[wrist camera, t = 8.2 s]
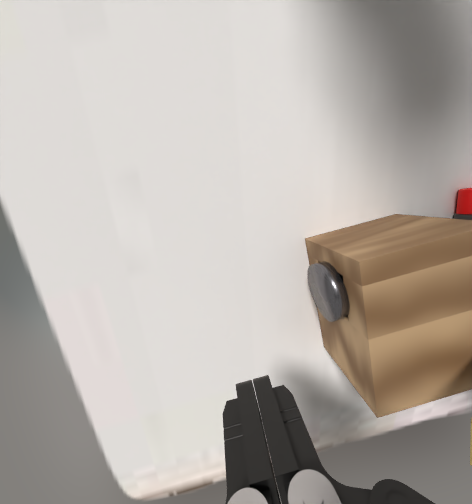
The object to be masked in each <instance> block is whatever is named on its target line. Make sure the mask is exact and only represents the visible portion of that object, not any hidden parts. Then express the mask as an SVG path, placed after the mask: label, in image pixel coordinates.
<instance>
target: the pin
mask: <svg viewBox="0 0 472 504" xmlns="http://www.w3.org/2000/svg"><path fill="white" fill-rule="evenodd" d="M308 283H309V287H310V291H311V294H312V297H313V299H314V301H315V304H316V306H317V308H318V309H319V311H320V312H321V314H322V315H323V316H324V318H325V319H326V320H328V321H330V322H333V321H337V320H340V319H344V318H346V317H347V316H348V315H349V310H350V304H349V298H348V294H347V290H346V288H345V285H344V281H343V275H342V274H340V273H338V272H337V270H336V269H335V268H334V267H333V266H332V265H331V264H330V263H328V262H326V261H323V262H319V263H315V264H312V265H310V266H309V268H308Z"/></svg>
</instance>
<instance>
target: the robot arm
mask: <svg viewBox="0 0 472 504" xmlns="http://www.w3.org/2000/svg"><path fill="white" fill-rule="evenodd" d="M253 383H254V387H255V391H256V395H255V391H254V387H253V384H252V380H249V381H245V382H242V383H238V384H236V390H237V398H236V399H233V400H229V401H227V402H226V405H225V409H224V412H223V427H224V440H225V442H224V444H225V462H226V479H227V499H226V504H281V502H280V498H279V494H278V490H277V486H278V489H279V493H280V497H281V501H282V504H435V503H433V502H432V501H430V500H428V499H427V498H426V497H424V496H422V495H421V494H419V493H418V492H416V491H415V490H413V489H412V488H410V487H408V486H407V485H405V484H403V483H401V482H399V481H395V480H392V479H385V480H382V481H379V482H378V483H376V484H375V486H374V487H373V489H372V490H369V489H361V488H353V487H349V486H345V485H343V484H341V483H339V482H337V481H336V480H334V479H333V478H332V477H331V476H330V475H329V474H328V473H327V472H326V471H325V469H324V468H323V466H322V465H321V462H320V460H319V458H318V455H317V453H316V451H315V448H314V446H313V443H312V441H311V438H310V436H309V434H308V431H307V429H306V426H305V424H304V421H303V419H302V417H301V414H300V412H299V409H298V407H297V404H296V402H295V400H294V397H293V395H292V393H291V392H290V391H289V390H288V389H287V388H286V387H285V386H284V385H282V386H278V387H275V388H272V385H271V382H270V379H269V376H268V375H266V376H263V377H259V378H256V379H253ZM256 396H257V399H256ZM257 400H258V403H257ZM258 404H259V407H258ZM259 409H260V411H259ZM260 413H261V415H260ZM261 417H262V419H261ZM262 422H263V423H262ZM263 426H264V428H263ZM264 431H265V432H264ZM265 435H266V437H265ZM266 439H267V441H266ZM267 444H268V445H267ZM268 448H269V450H268ZM269 452H270V454H269ZM270 457H271V458H270ZM271 461H272V463H271ZM272 465H273V467H272ZM273 470H274V472H273ZM274 474H275V476H274ZM275 478H276V480H275ZM276 482H277V485H276Z"/></svg>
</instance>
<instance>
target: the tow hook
mask: <svg viewBox="0 0 472 504" xmlns="http://www.w3.org/2000/svg"><path fill="white" fill-rule="evenodd" d="M454 219H462V220H472V188H466V189H460V190H459V191H458V200H457V209H456V213H455V214H454Z"/></svg>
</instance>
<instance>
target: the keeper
mask: <svg viewBox="0 0 472 504" xmlns="http://www.w3.org/2000/svg"><path fill="white" fill-rule="evenodd" d="M470 450H471V451H470V453H471V454H470V465H472V419H471V447H470Z"/></svg>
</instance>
